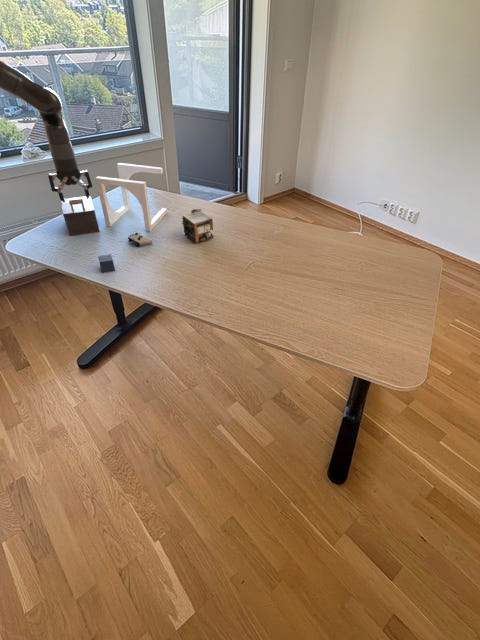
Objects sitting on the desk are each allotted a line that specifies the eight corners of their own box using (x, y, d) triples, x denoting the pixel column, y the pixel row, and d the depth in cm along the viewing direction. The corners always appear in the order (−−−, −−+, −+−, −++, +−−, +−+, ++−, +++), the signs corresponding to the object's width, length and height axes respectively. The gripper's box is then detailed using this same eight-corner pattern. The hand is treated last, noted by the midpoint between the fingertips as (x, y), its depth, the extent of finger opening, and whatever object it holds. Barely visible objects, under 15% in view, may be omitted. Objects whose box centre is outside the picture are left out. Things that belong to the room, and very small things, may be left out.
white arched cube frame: (126, 207, 163) (118, 162, 150) (167, 212, 160) (162, 167, 147) (106, 225, 148) (95, 177, 135) (150, 231, 146) (143, 183, 132)
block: (102, 273, 121) (99, 262, 118) (100, 266, 124) (97, 256, 121) (115, 270, 122) (112, 260, 120) (113, 264, 125) (110, 253, 123)
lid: (95, 212, 137) (92, 199, 134) (63, 216, 133) (59, 203, 130) (90, 197, 148) (87, 186, 144) (61, 201, 144) (57, 189, 141)
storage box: (99, 231, 144) (94, 211, 138) (69, 236, 140) (63, 215, 134) (95, 217, 153) (90, 197, 148) (67, 220, 150) (61, 201, 144)
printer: (203, 227, 154) (201, 206, 148) (224, 251, 136) (223, 228, 130) (179, 231, 150) (176, 210, 144) (197, 257, 132) (195, 234, 126)
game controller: (154, 241, 138) (144, 235, 132) (148, 253, 138) (137, 247, 133) (139, 233, 142) (129, 226, 137) (133, 244, 142) (122, 238, 137)
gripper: (83, 151, 128) (93, 194, 139) (41, 154, 123) (55, 198, 134) (85, 156, 123) (96, 201, 133) (41, 160, 118) (56, 206, 129)
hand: (75, 200), depth 134 cm, fingers open, 8 cm apart
